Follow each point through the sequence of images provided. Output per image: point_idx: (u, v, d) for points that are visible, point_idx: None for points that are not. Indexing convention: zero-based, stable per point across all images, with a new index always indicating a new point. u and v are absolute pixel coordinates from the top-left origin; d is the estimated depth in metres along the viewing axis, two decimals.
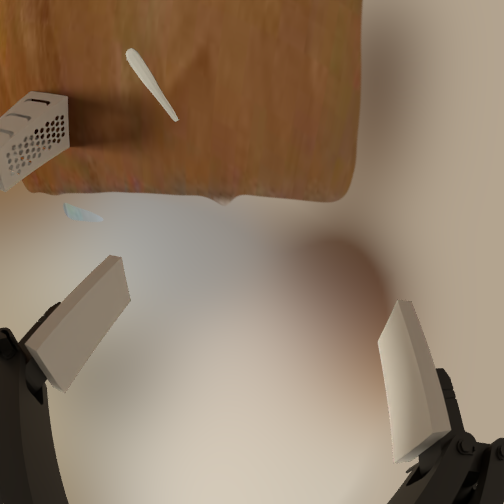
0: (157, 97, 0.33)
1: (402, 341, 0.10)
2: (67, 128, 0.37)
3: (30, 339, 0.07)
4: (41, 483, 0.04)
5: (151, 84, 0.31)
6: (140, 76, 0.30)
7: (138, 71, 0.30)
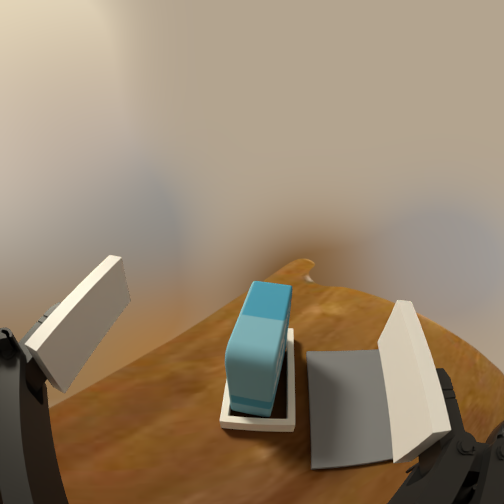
0: None
1: (401, 342, 0.10)
2: None
3: (30, 339, 0.07)
4: (41, 482, 0.04)
5: None
6: None
7: None
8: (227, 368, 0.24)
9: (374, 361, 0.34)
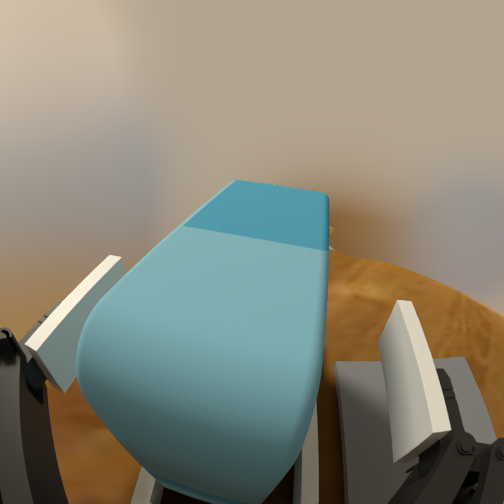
0: None
1: (401, 341, 0.10)
2: None
3: (30, 339, 0.07)
4: (41, 482, 0.04)
5: None
6: None
7: None
8: None
9: (452, 378, 0.15)
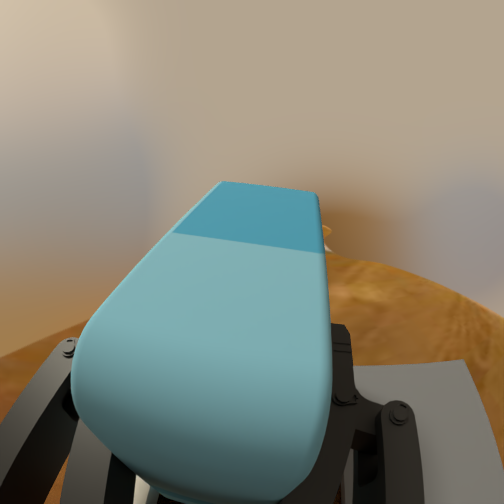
0: None
1: None
2: None
3: None
4: (116, 500, 0.04)
5: None
6: None
7: None
8: (94, 434, 0.04)
9: (451, 382, 0.15)
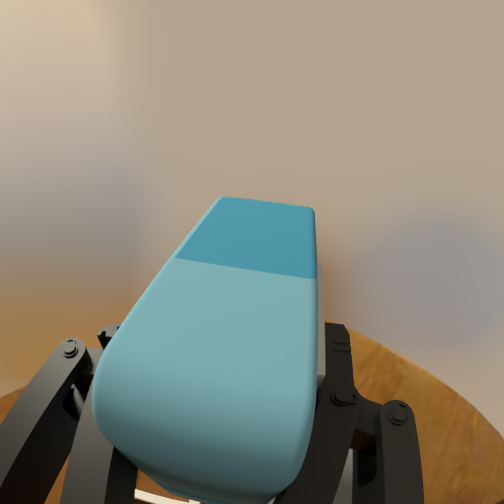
0: None
1: None
2: None
3: None
4: (116, 501, 0.04)
5: None
6: None
7: None
8: None
9: None
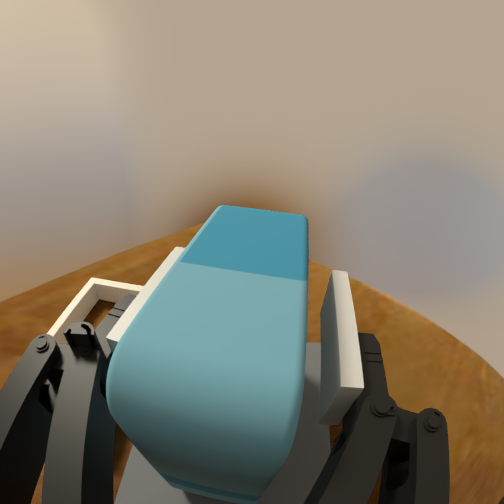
0: None
1: (331, 307, 0.12)
2: None
3: (112, 332, 0.09)
4: (93, 493, 0.04)
5: None
6: None
7: None
8: (121, 428, 0.06)
9: None
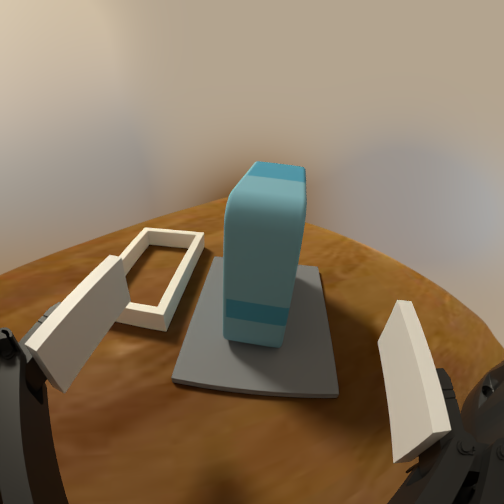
0: None
1: (401, 342, 0.10)
2: None
3: (30, 339, 0.07)
4: (41, 483, 0.04)
5: None
6: None
7: None
8: (227, 232, 0.16)
9: (297, 275, 0.31)
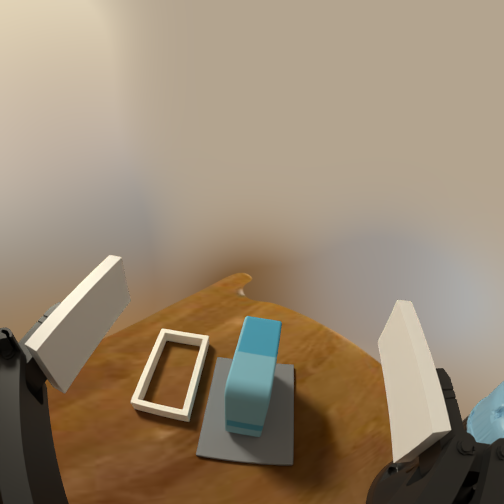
0: None
1: (401, 341, 0.10)
2: None
3: (30, 339, 0.07)
4: (41, 483, 0.04)
5: None
6: None
7: None
8: (226, 400, 0.26)
9: (277, 374, 0.40)
